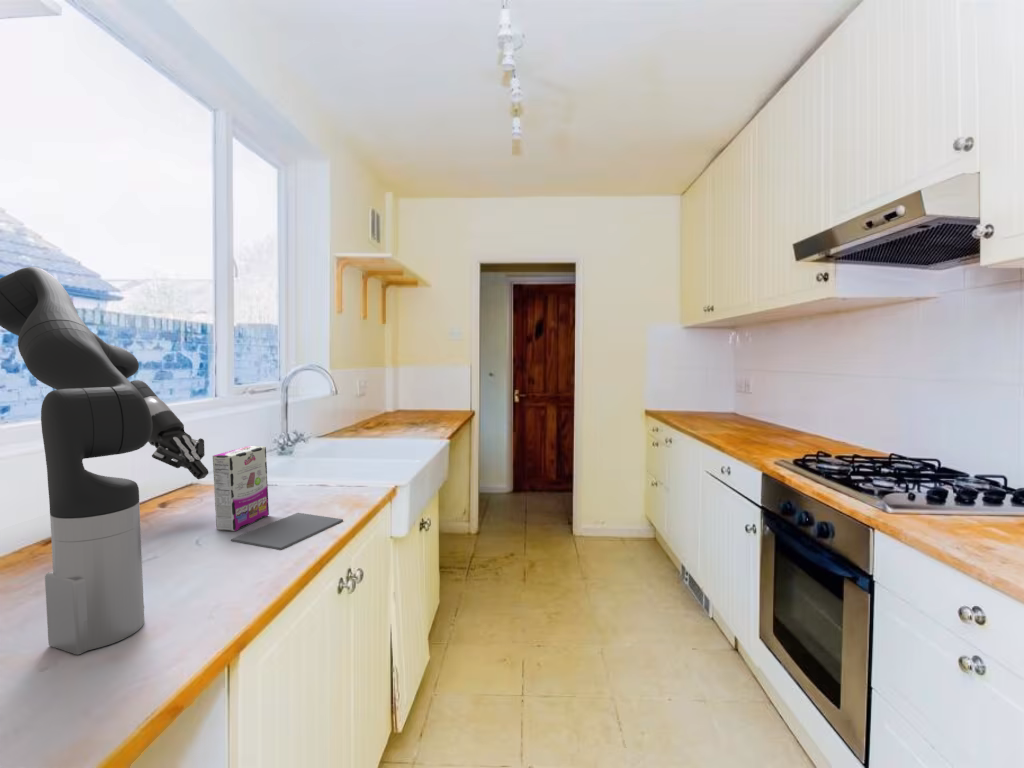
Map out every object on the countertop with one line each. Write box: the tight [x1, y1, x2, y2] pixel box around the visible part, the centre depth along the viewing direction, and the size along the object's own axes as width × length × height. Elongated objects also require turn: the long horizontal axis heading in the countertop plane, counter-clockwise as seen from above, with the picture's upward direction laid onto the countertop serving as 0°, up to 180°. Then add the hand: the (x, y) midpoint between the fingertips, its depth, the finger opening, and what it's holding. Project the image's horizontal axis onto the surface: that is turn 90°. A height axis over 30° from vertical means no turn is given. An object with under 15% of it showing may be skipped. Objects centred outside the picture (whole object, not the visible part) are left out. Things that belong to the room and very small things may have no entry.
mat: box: [230, 512, 344, 551], centre depth 108 cm, size 18×13×1 cm
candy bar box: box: [212, 445, 270, 532], centre depth 112 cm, size 11×5×16 cm, turn 168°
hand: (203, 476), depth 114 cm, fingers closed
